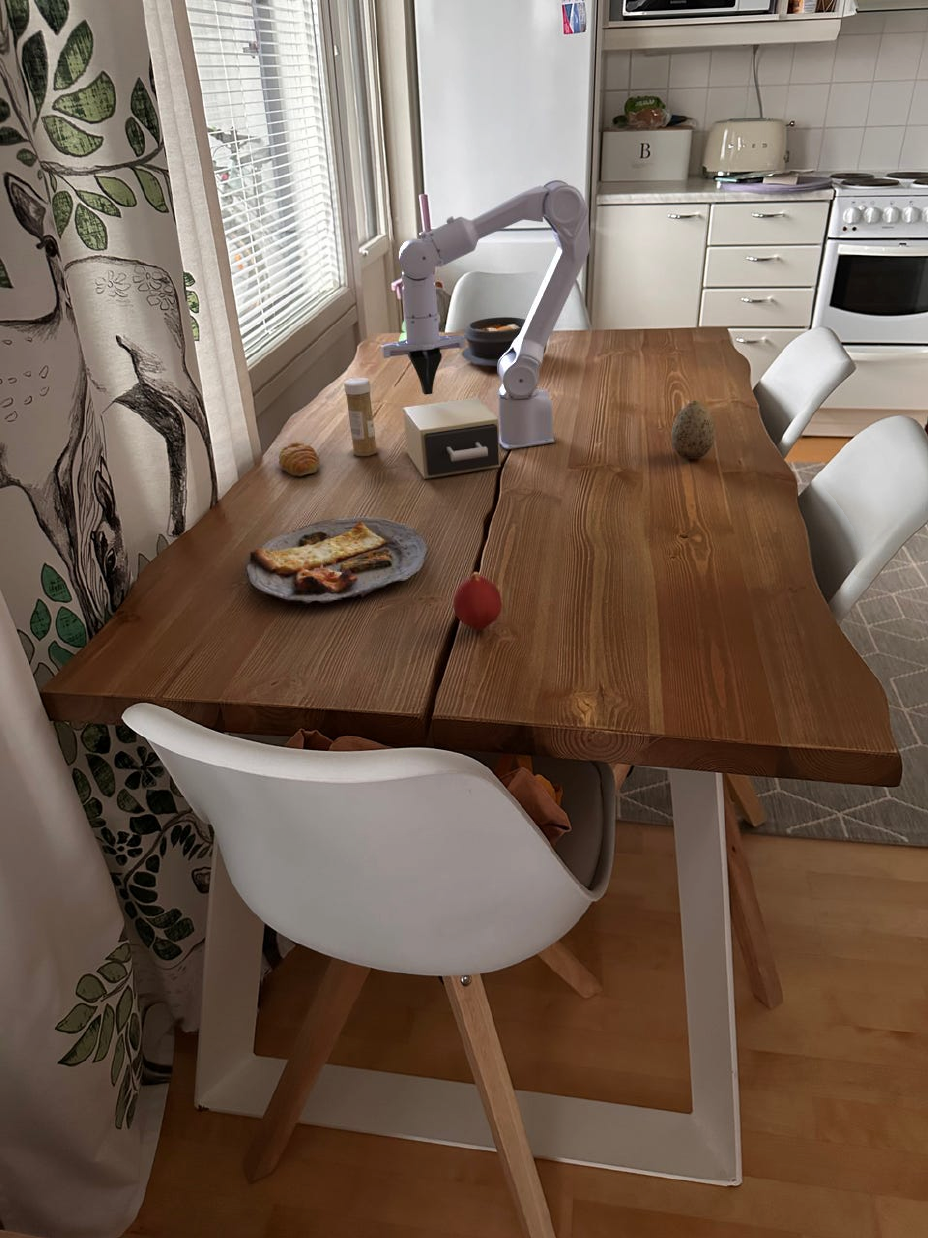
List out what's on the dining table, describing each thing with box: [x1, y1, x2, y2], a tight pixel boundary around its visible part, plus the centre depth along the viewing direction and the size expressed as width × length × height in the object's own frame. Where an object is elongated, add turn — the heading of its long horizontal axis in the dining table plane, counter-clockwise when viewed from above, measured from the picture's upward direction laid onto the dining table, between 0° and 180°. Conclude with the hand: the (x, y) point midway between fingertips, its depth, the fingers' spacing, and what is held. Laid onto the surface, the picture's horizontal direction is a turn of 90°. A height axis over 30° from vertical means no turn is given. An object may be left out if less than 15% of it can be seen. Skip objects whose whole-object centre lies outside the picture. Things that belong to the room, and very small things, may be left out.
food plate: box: [245, 516, 428, 606], centre depth 129 cm, size 25×23×4 cm
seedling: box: [398, 319, 407, 342], centre depth 241 cm, size 7×8×6 cm
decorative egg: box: [670, 400, 716, 460], centre depth 156 cm, size 7×7×10 cm
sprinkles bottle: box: [343, 377, 378, 457], centre depth 168 cm, size 5×5×14 cm
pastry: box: [278, 442, 320, 477], centre depth 164 cm, size 9×7×4 cm
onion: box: [452, 571, 503, 632], centre depth 111 cm, size 6×6×8 cm
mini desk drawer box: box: [402, 397, 501, 479], centre depth 163 cm, size 14×14×9 cm
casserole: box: [461, 316, 527, 367], centre depth 220 cm, size 25×19×8 cm
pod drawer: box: [424, 425, 499, 476], centre depth 159 cm, size 17×12×7 cm
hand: (427, 392), depth 166 cm, fingers closed
